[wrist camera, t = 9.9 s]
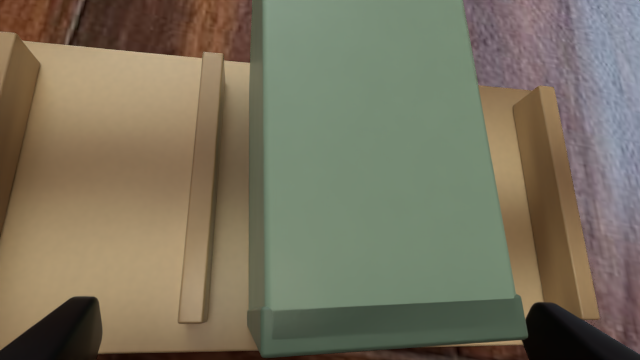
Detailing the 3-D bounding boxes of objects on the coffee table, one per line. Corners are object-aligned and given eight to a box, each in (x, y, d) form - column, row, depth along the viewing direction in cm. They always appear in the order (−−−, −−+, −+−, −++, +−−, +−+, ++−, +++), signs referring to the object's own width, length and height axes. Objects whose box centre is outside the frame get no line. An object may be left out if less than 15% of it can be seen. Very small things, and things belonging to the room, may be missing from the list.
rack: (566, 342, 18) (621, 347, 15) (-61, 355, 14) (-131, 365, 11) (524, 97, 22) (563, 68, 19) (17, 50, 18) (-22, 4, 15)
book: (342, 321, 16) (530, 340, 6) (247, 327, 15) (259, 358, 5) (328, 87, 19) (433, -184, 9) (248, 83, 18) (257, -216, 8)
